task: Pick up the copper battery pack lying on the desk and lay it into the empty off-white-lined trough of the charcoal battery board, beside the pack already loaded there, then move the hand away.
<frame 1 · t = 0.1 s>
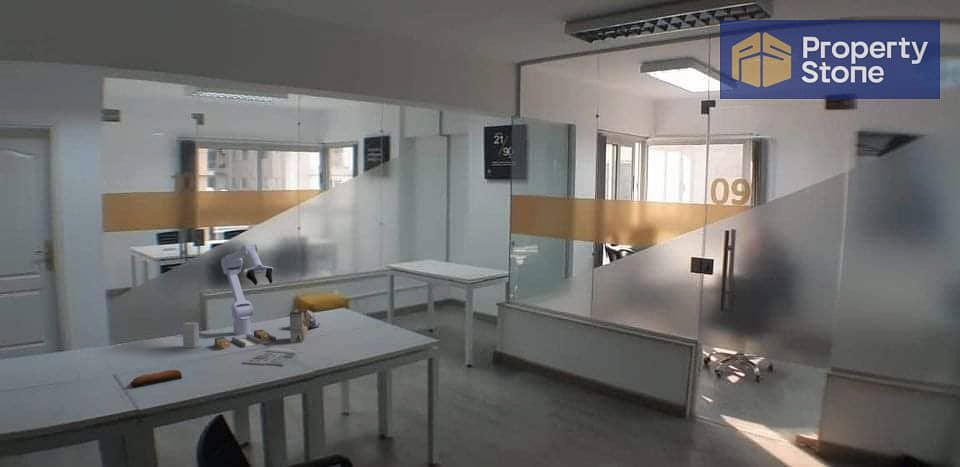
hand: (263, 282, 282), 32 cm above the table, tool tilted 50°, fingers open, 7 cm apart
copper cell: (222, 347, 282), on the table
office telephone: (276, 359, 266), on the table
battery board: (253, 342, 291), on the table
loaded cell: (261, 339, 294), point 1 cm above the table, touching battery board
sunglasses case: (155, 382, 234), on the table
skincare box: (191, 347, 282), on the table
lucky cat figurine: (307, 328, 320), on the table
coffee box: (299, 341, 294), on the table
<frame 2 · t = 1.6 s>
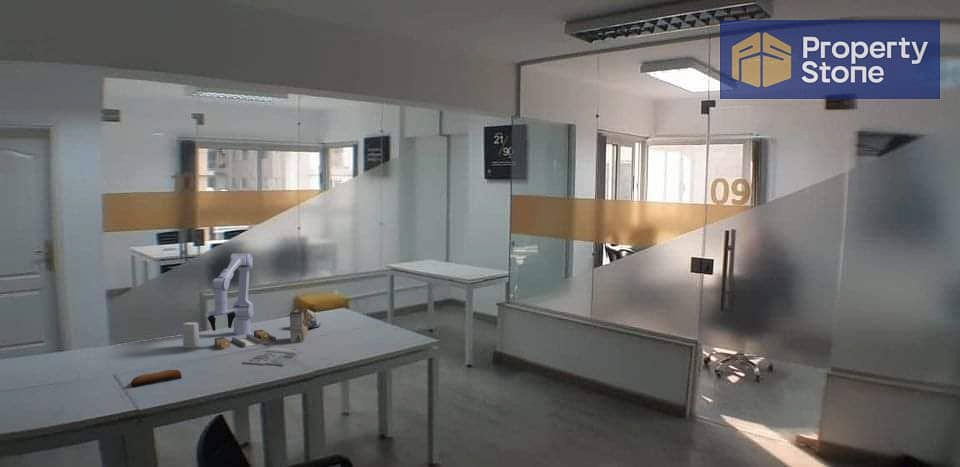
hand: (221, 329, 281), 9 cm above the table, tool pointing down, fingers open, 7 cm apart
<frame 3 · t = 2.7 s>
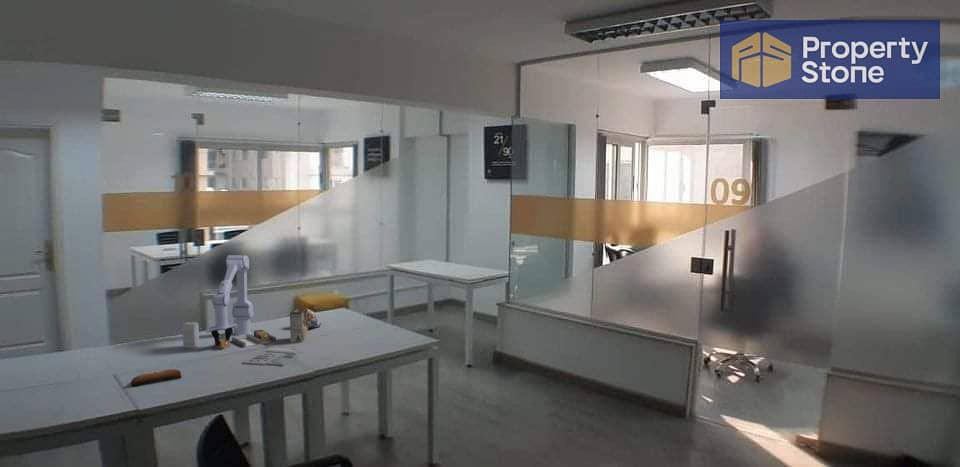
hand: (222, 344, 281), 1 cm above the table, tool pointing down, fingers closed on copper cell, 4 cm apart
copper cell: (222, 347, 282), on the table, touching gripper
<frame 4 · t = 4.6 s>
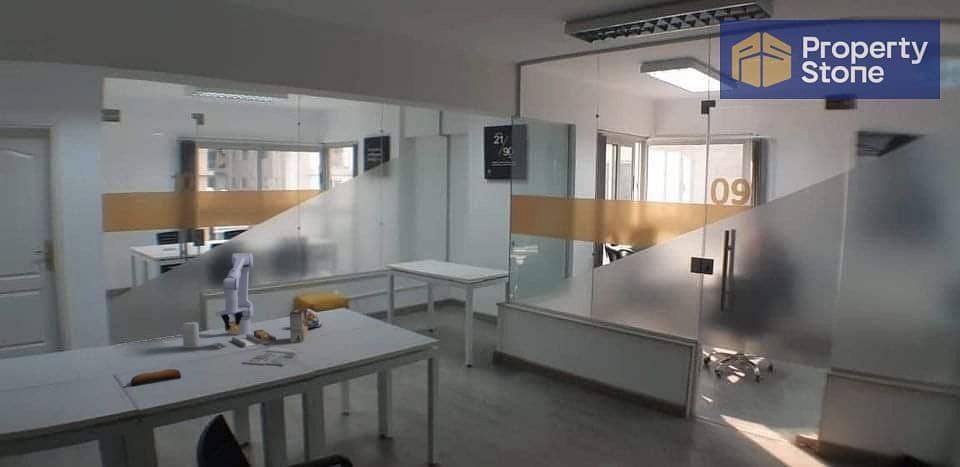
hand: (232, 328, 284), 9 cm above the table, tool pointing down, fingers closed on copper cell, 4 cm apart
copper cell: (232, 331, 284), point 7 cm above the table, touching gripper
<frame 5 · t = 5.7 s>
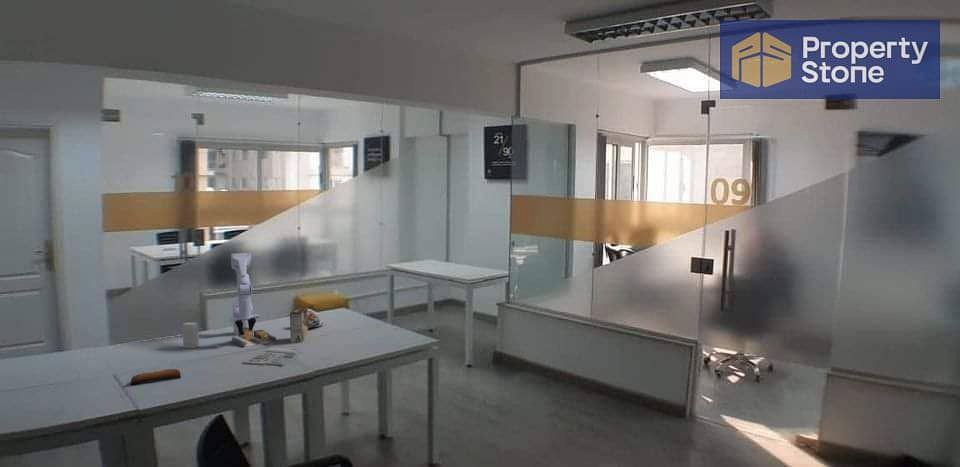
hand: (245, 334, 287), 5 cm above the table, tool pointing down, fingers closed on copper cell, 4 cm apart
copper cell: (245, 337, 288), point 3 cm above the table, touching gripper
when the fingers open (3 cm above the table, at t = 6.4 s): copper cell stays where it is, resting on battery board.
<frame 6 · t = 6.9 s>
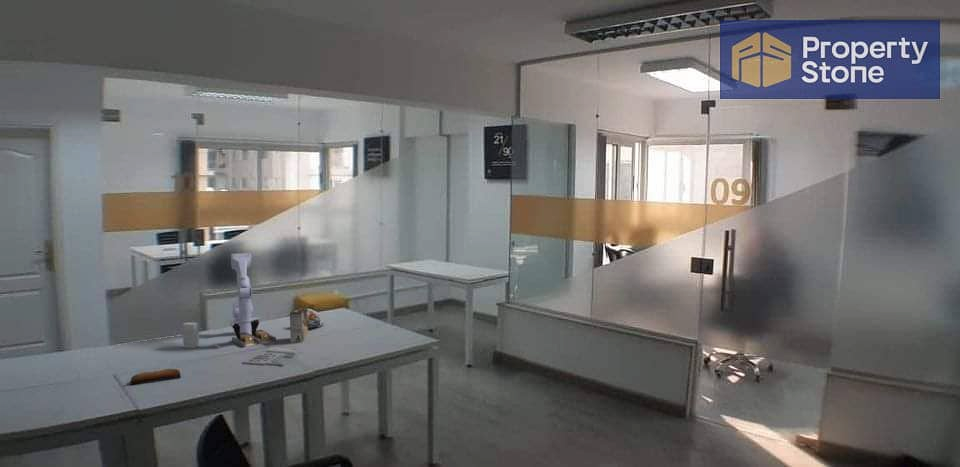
hand: (245, 337, 288), 3 cm above the table, tool pointing down, fingers open, 7 cm apart
copper cell: (246, 342, 288), point 1 cm above the table, touching battery board
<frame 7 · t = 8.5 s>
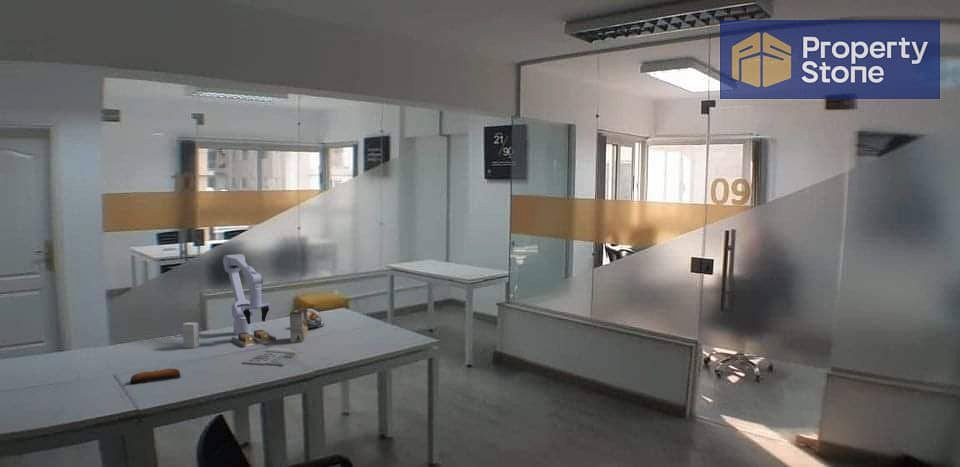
hand: (256, 322, 294), 9 cm above the table, tool pointing down, fingers open, 7 cm apart
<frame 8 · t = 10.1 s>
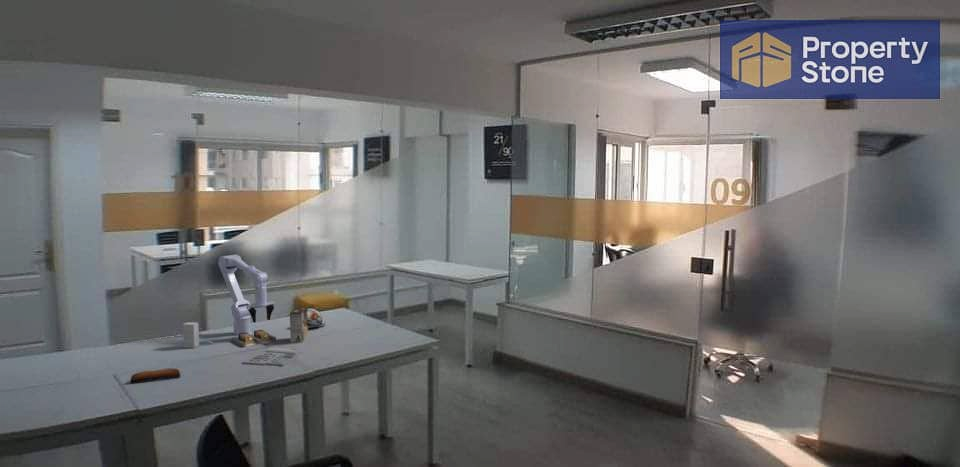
hand: (261, 320, 297), 9 cm above the table, tool pointing down, fingers open, 7 cm apart
at the end: copper cell inside the target area on the battery board (0.0 cm from its centre), point 0.7 cm above the battery board's base; copper cell touching battery board; the gripper is holding nothing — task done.
